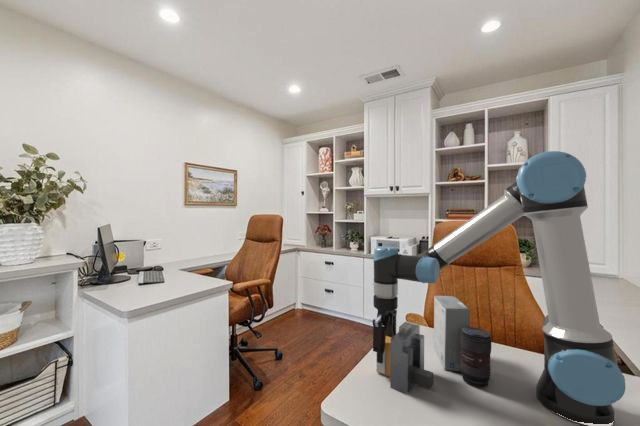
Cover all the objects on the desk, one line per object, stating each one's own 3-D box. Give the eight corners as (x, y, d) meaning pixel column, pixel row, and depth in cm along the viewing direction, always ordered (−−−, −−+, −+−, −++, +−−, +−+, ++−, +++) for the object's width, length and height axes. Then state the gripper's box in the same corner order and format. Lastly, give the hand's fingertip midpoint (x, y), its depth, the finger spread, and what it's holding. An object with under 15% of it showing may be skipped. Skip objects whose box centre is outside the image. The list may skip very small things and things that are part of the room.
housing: (424, 370, 90) (424, 320, 90) (407, 394, 78) (407, 336, 78) (408, 365, 93) (408, 316, 93) (390, 387, 81) (390, 332, 81)
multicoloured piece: (434, 383, 83) (434, 349, 83) (429, 391, 79) (429, 356, 79) (383, 365, 93) (383, 334, 93) (376, 371, 89) (377, 340, 89)
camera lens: (495, 391, 79) (496, 338, 79) (464, 387, 81) (465, 335, 81) (485, 375, 87) (485, 327, 87) (457, 372, 89) (457, 324, 89)
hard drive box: (470, 373, 89) (470, 309, 89) (444, 370, 90) (445, 308, 90) (454, 349, 104) (455, 295, 104) (432, 347, 105) (433, 294, 105)
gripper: (386, 287, 100) (385, 352, 99) (361, 299, 85) (360, 376, 85) (407, 290, 95) (406, 359, 95) (384, 304, 80) (383, 386, 80)
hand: (385, 367), depth 90 cm, fingers open, 5 cm apart
